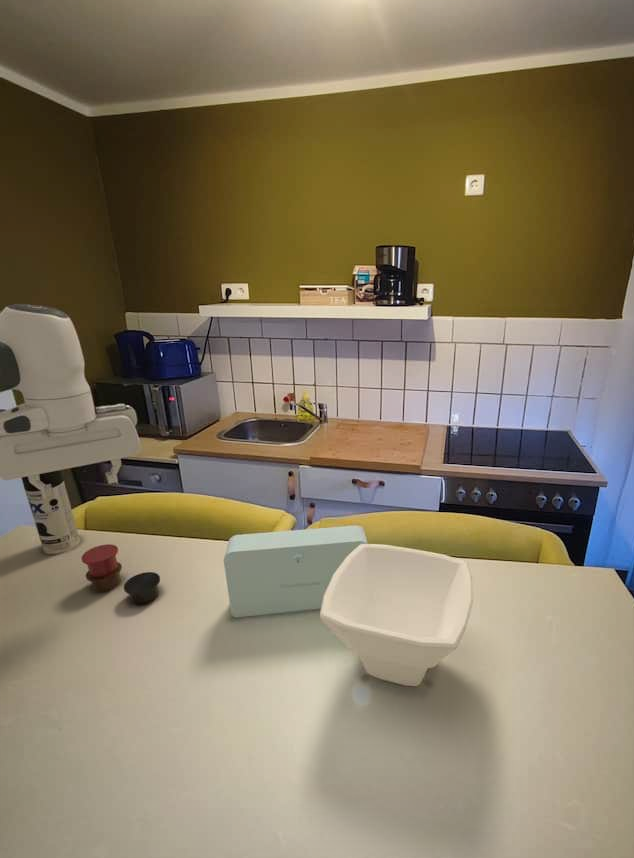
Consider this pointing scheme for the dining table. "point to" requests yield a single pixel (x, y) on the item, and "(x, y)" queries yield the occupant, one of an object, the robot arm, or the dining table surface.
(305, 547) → the mint green box
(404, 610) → the bowl
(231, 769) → the dining table surface
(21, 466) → the robot arm
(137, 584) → the pod black
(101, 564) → the pod burgundy
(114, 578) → the pod brown
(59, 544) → the spray can
